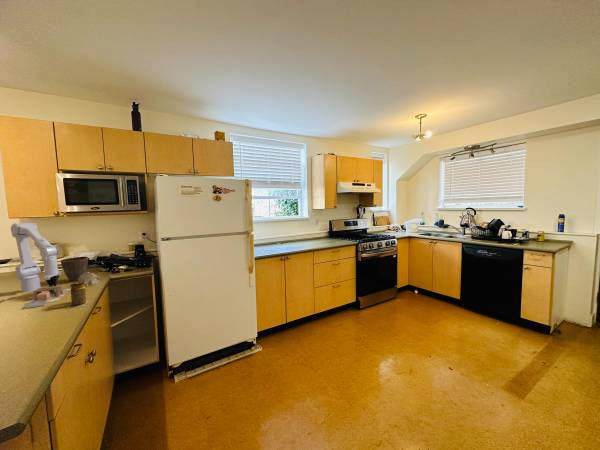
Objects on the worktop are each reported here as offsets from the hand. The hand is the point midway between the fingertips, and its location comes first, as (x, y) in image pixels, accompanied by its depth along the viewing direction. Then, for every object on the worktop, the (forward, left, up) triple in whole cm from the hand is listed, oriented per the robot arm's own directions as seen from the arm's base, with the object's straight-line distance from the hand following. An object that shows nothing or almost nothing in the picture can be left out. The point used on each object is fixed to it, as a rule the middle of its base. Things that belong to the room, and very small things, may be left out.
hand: (53, 288), depth 152 cm
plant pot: (-30, +3, -4) cm, 31 cm away
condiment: (+28, +19, -4) cm, 33 cm away
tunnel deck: (+7, 0, -4) cm, 8 cm away
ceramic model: (-10, +15, -4) cm, 18 cm away
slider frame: (+12, 0, -3) cm, 13 cm away
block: (+13, 0, -3) cm, 14 cm away
